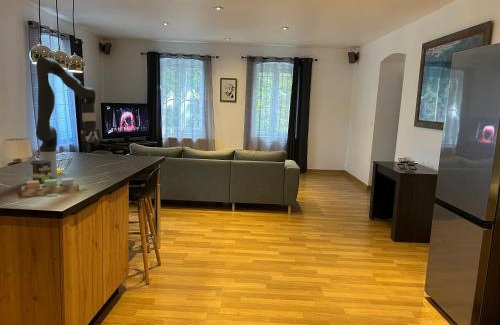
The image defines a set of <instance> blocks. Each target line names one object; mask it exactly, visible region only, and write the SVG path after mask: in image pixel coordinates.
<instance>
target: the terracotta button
mask: <svg viewBox="0 0 500 325" xmlns="http://www.w3.org/2000/svg"><path fill="white" fill-rule="evenodd" d="M26 186H27V189H32V188H39V180H35V181H32V180H27V181H26Z"/></svg>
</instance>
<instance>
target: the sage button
mask: <svg viewBox="0 0 500 325" xmlns="http://www.w3.org/2000/svg"><path fill="white" fill-rule="evenodd" d="M44 182H45V187H57V183H58V182H57V179H56V178H51V179H49V180H44Z"/></svg>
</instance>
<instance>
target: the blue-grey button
mask: <svg viewBox="0 0 500 325" xmlns="http://www.w3.org/2000/svg"><path fill="white" fill-rule="evenodd" d="M74 182H75V181H74V178H73V177H66V178H65V177H64V178H61V183H62V186H69V185H74Z"/></svg>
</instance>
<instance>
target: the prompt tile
mask: <svg viewBox="0 0 500 325" xmlns="http://www.w3.org/2000/svg"><path fill="white" fill-rule="evenodd" d="M46 197H47V198H52V197H59V193H58V194H57V193H49V194H47V195H46Z"/></svg>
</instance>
